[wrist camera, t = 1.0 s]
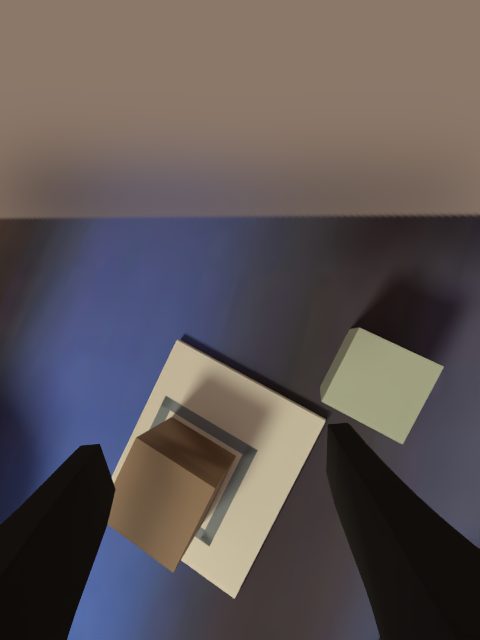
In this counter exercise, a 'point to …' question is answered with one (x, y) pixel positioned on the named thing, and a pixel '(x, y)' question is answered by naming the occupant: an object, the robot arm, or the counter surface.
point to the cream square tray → (241, 440)
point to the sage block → (379, 383)
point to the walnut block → (167, 489)
